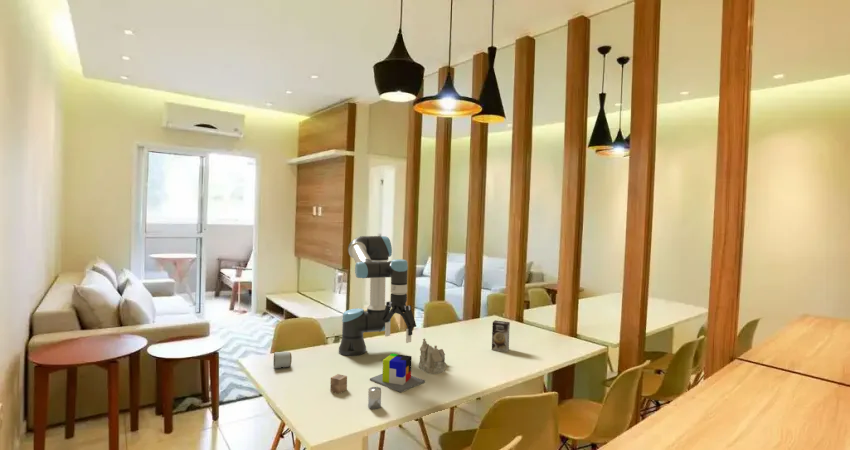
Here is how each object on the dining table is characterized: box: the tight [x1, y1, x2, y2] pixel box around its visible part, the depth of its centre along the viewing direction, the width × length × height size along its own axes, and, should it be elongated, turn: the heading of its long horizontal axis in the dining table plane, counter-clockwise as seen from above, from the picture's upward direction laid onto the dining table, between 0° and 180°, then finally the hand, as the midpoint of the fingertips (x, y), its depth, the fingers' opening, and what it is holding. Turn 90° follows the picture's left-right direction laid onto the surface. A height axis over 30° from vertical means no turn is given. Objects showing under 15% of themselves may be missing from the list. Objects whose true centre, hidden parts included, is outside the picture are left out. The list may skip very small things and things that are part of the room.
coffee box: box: [491, 320, 511, 353], centre depth 245 cm, size 9×6×16 cm
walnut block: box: [330, 373, 348, 394], centre depth 184 cm, size 5×5×6 cm
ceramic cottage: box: [417, 338, 447, 375], centre depth 215 cm, size 16×16×15 cm
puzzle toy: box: [382, 353, 412, 385], centre depth 195 cm, size 10×10×10 cm
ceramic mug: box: [273, 351, 293, 369], centre depth 212 cm, size 11×8×8 cm
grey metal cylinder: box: [367, 386, 382, 411], centre depth 169 cm, size 5×5×7 cm
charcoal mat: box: [369, 373, 426, 393], centre depth 195 cm, size 20×16×1 cm
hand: (397, 339), depth 195 cm, fingers open, 13 cm apart
